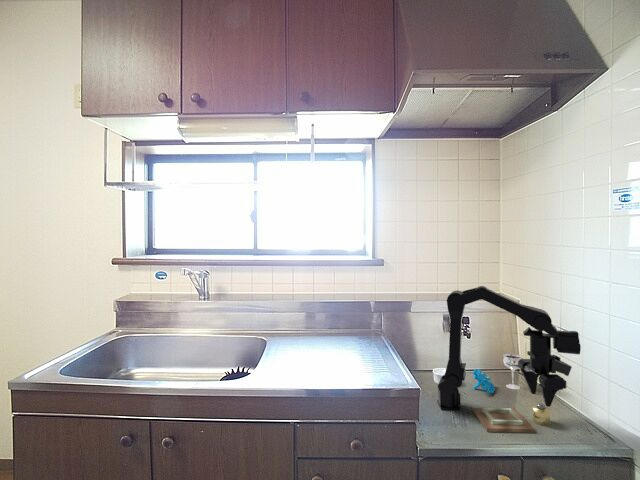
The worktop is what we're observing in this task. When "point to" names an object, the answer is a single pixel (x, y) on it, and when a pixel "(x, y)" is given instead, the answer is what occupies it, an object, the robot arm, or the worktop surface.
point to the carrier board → (502, 420)
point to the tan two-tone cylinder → (541, 414)
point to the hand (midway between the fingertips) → (540, 399)
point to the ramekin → (438, 374)
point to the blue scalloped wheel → (483, 381)
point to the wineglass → (512, 366)
